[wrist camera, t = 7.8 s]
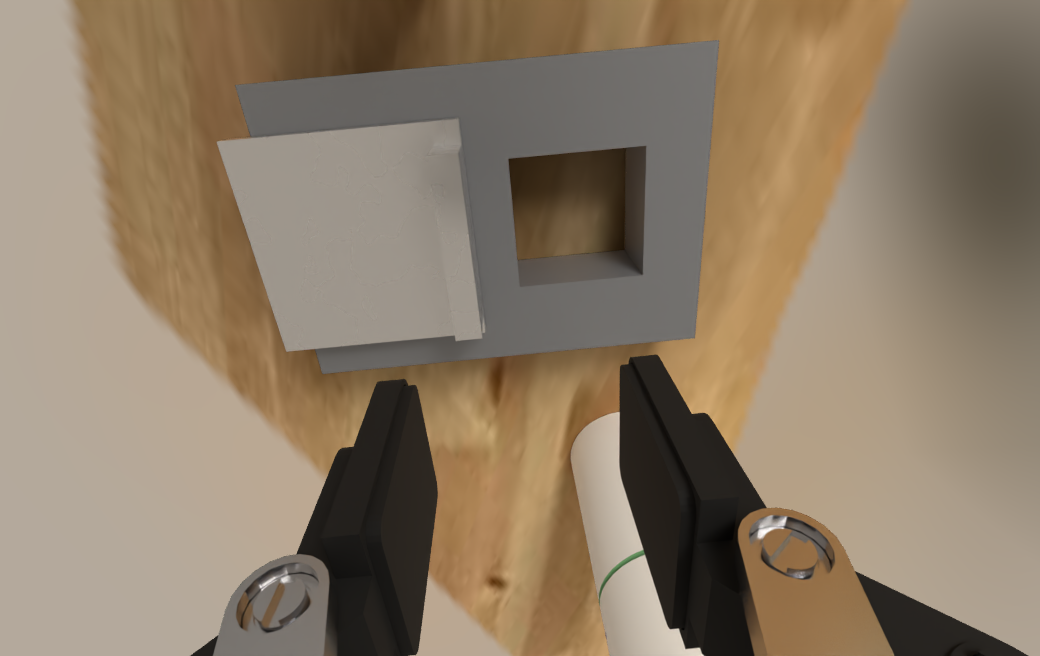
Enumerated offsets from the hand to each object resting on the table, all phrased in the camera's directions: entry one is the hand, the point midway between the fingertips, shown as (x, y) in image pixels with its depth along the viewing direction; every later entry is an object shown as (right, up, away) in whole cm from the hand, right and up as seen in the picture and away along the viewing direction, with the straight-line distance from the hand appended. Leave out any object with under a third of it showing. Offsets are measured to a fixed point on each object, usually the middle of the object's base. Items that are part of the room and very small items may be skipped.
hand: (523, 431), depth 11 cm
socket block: (-1, +9, +17) cm, 19 cm away
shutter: (-7, +6, +13) cm, 17 cm away
